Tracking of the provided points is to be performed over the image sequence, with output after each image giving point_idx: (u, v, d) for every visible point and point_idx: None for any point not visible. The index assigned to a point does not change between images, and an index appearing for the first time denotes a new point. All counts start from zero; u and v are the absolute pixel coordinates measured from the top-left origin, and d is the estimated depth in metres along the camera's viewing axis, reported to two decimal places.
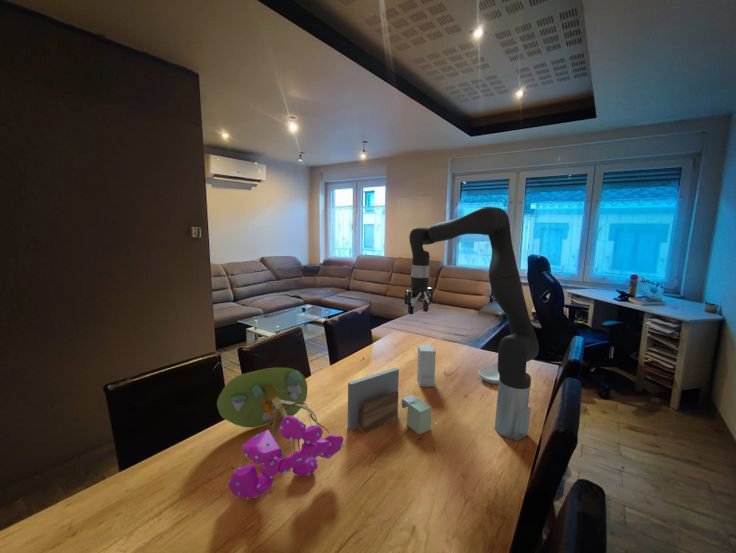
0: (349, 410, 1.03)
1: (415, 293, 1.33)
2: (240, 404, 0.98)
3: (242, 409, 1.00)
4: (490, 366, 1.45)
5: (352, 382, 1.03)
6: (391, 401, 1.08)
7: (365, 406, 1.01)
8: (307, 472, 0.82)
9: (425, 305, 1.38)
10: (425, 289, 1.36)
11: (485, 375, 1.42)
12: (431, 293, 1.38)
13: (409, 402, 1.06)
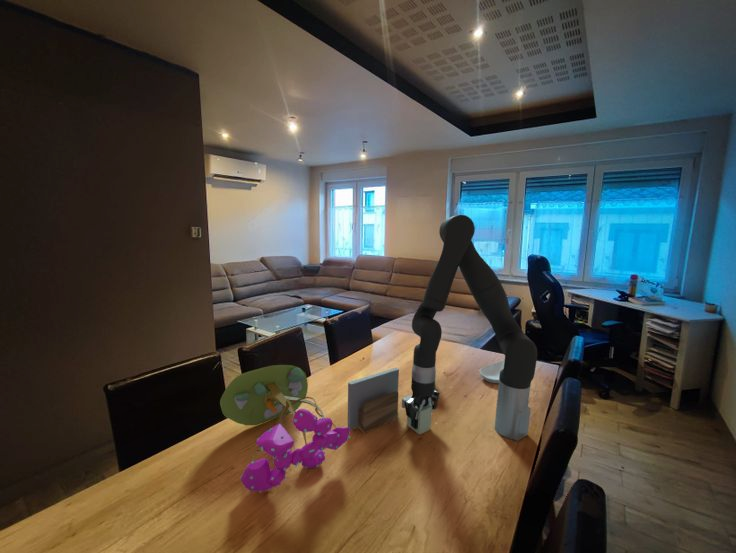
0: (349, 410, 1.03)
1: (417, 403, 1.01)
2: (243, 402, 0.99)
3: (245, 407, 1.01)
4: (491, 366, 1.45)
5: (352, 382, 1.03)
6: (391, 401, 1.08)
7: (365, 406, 1.01)
8: (316, 464, 0.85)
9: None
10: None
11: (486, 374, 1.43)
12: (436, 399, 1.06)
13: None
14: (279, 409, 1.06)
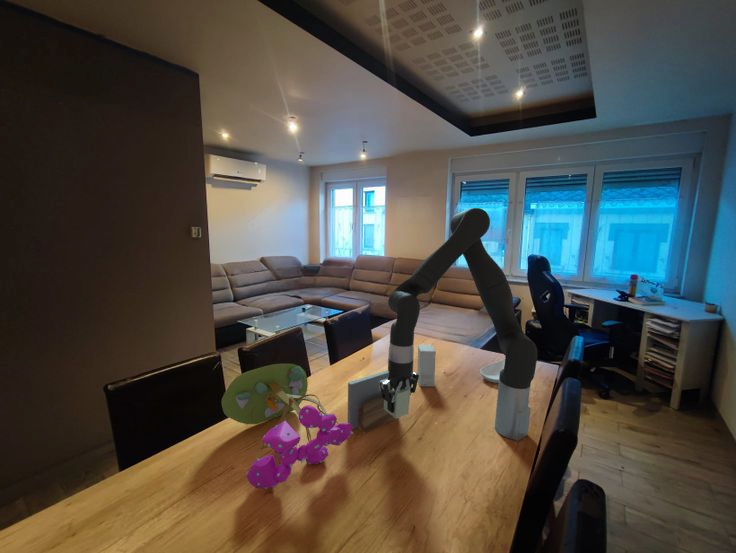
0: (349, 410, 1.03)
1: (393, 385, 0.94)
2: (244, 401, 0.99)
3: (246, 406, 1.01)
4: (491, 366, 1.45)
5: (352, 382, 1.03)
6: None
7: (365, 406, 1.01)
8: (320, 459, 0.87)
9: None
10: (409, 374, 0.97)
11: (486, 374, 1.43)
12: (415, 381, 0.99)
13: None
14: (280, 407, 1.07)
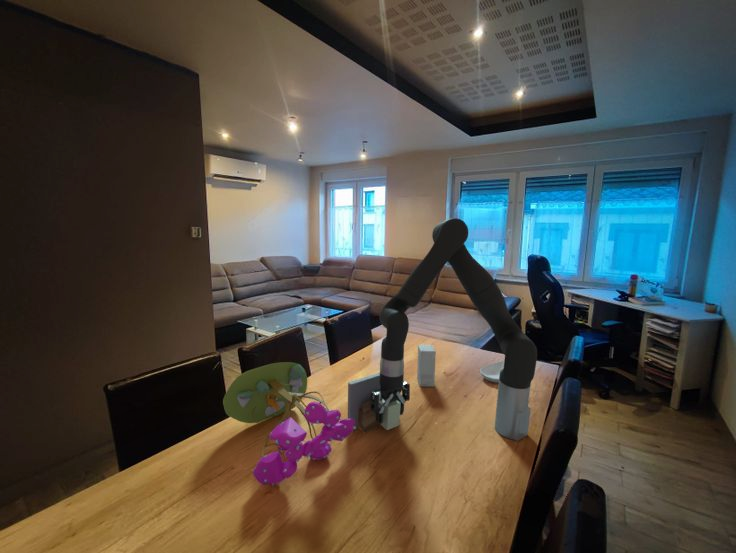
0: (349, 410, 1.03)
1: (385, 396, 0.98)
2: (246, 400, 1.00)
3: (247, 405, 1.02)
4: (492, 365, 1.46)
5: (352, 382, 1.03)
6: None
7: (365, 406, 1.01)
8: (324, 455, 0.88)
9: None
10: (399, 387, 1.01)
11: (486, 374, 1.43)
12: (408, 390, 1.04)
13: None
14: (280, 406, 1.08)
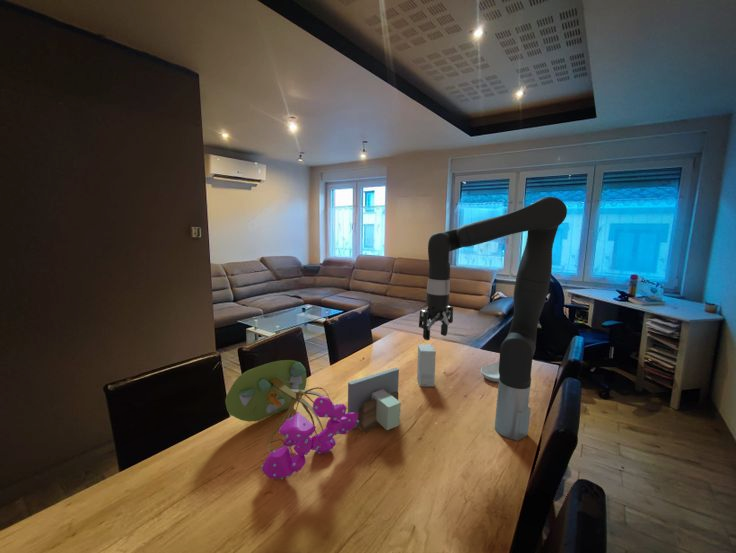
0: (349, 410, 1.03)
1: (432, 314, 1.07)
2: (248, 399, 1.01)
3: (248, 404, 1.03)
4: (493, 365, 1.46)
5: (352, 382, 1.03)
6: None
7: (365, 406, 1.01)
8: (329, 448, 0.91)
9: (444, 327, 1.12)
10: (444, 308, 1.10)
11: (487, 373, 1.44)
12: (451, 313, 1.12)
13: (379, 397, 1.03)
14: (281, 403, 1.09)
